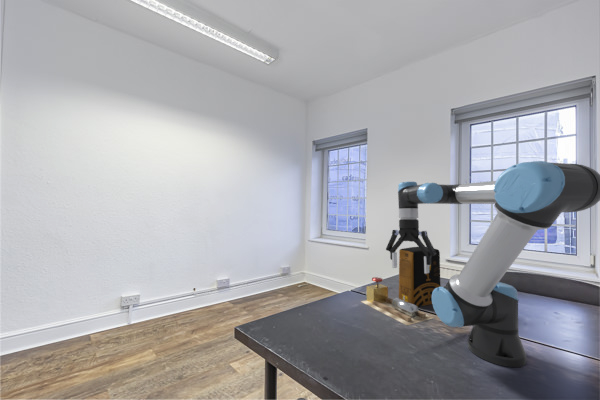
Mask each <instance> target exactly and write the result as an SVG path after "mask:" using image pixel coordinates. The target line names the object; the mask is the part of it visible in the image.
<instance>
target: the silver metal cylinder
mask: <svg viewBox="0 0 600 400" xmlns="http://www.w3.org/2000/svg"><path fill="white" fill-rule="evenodd" d="M392 307H393V308H394V309H396V310H398V311H400V312H402V313H405V314H407V315H409V316H411V317H416V316H417V314H418V311H419V307H417V306H416V305H414V304H411V303H409V302H407V301H404V300H402V299H399V297H394V298H393V301H392Z"/></svg>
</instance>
